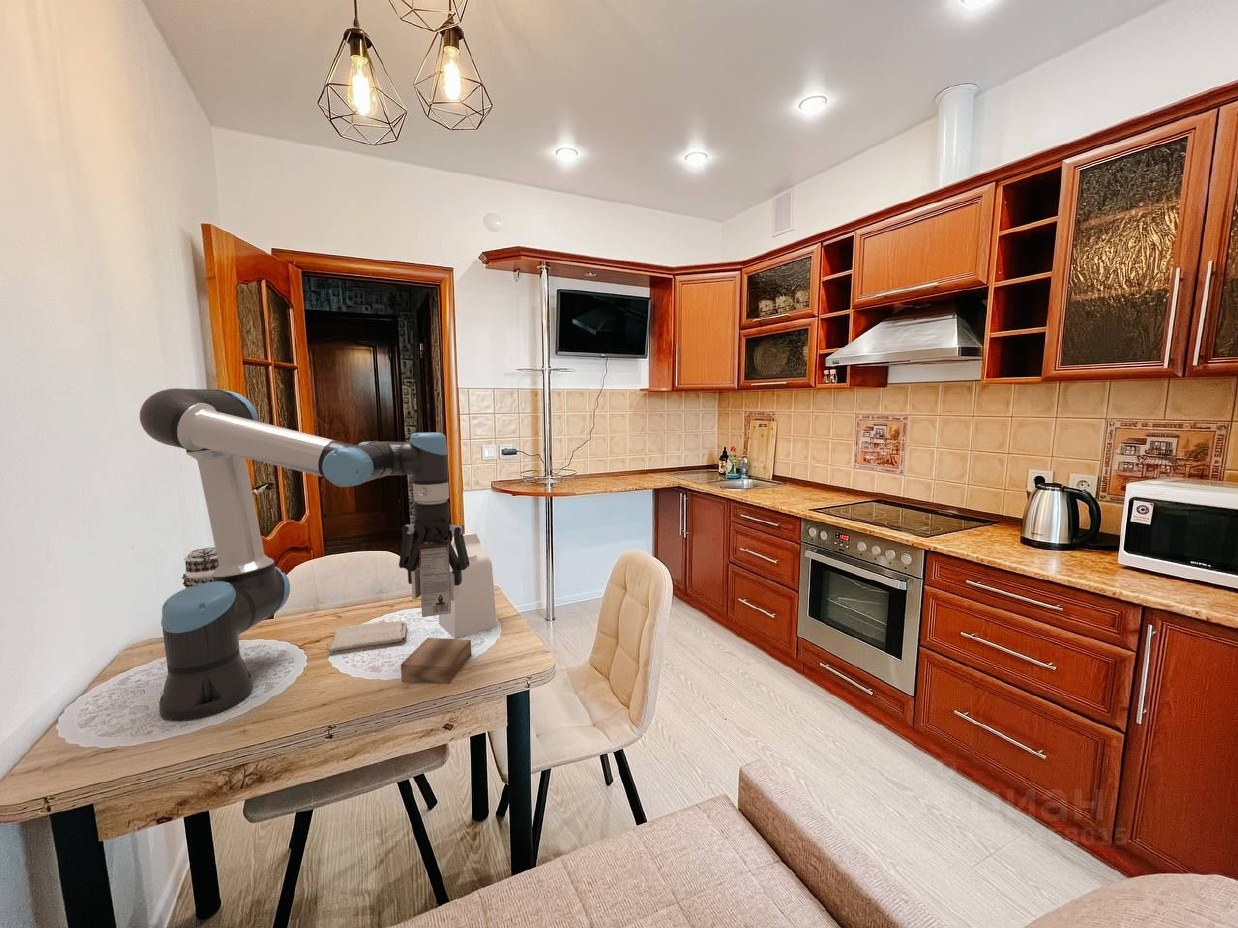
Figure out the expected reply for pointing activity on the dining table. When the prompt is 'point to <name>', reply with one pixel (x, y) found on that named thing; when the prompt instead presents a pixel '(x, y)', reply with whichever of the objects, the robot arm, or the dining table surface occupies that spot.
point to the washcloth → (368, 637)
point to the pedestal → (436, 661)
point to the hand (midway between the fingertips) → (435, 597)
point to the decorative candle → (200, 566)
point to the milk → (472, 593)
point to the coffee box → (434, 578)
